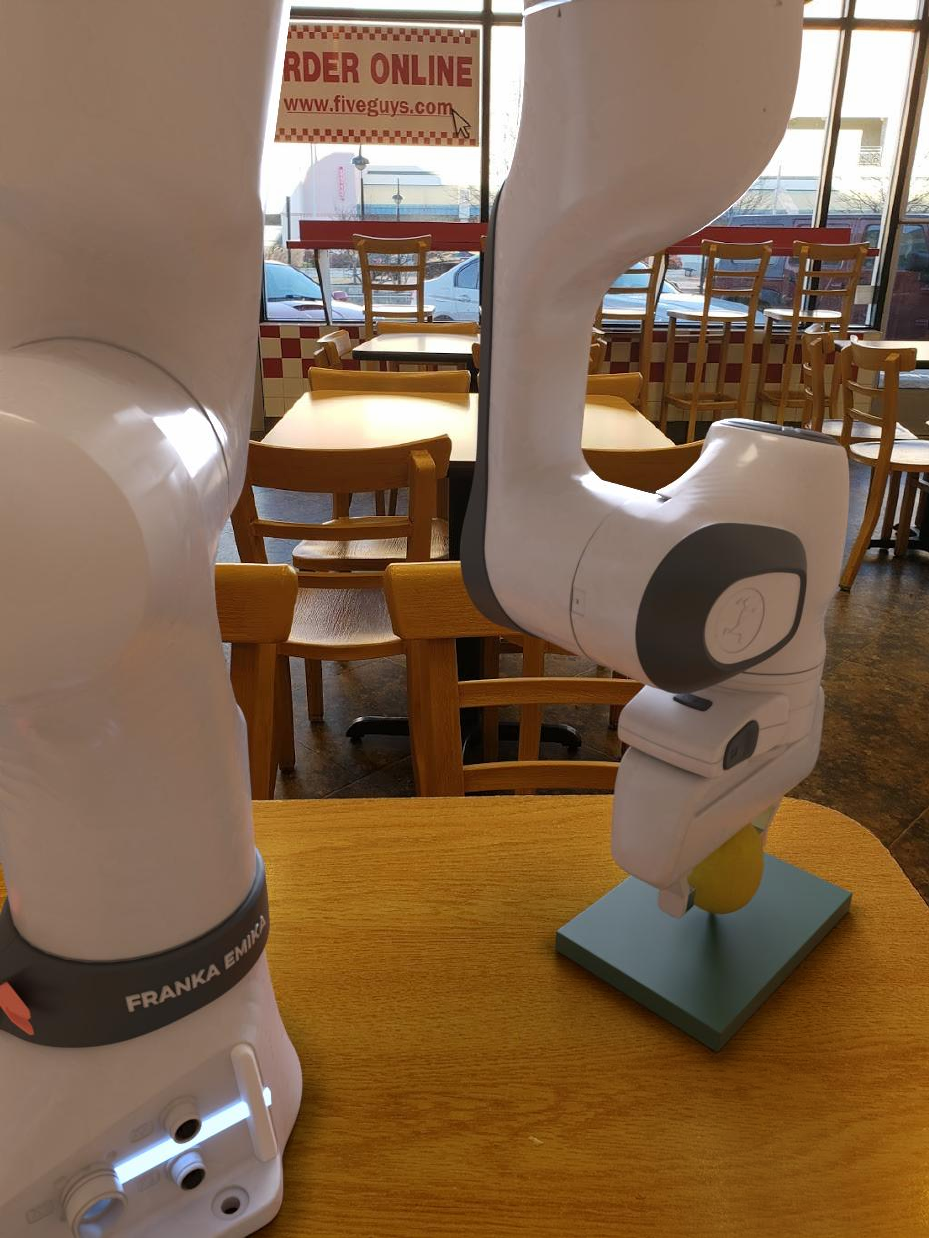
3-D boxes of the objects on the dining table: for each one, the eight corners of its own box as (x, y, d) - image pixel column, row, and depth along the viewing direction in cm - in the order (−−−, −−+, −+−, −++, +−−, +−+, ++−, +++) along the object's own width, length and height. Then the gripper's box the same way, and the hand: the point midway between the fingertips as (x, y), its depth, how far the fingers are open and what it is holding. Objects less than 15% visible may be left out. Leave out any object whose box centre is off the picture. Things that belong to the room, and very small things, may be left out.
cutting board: (717, 1053, 54) (720, 1033, 53) (554, 949, 61) (555, 931, 61) (849, 910, 66) (853, 892, 65) (699, 838, 74) (701, 822, 73)
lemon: (752, 948, 60) (770, 842, 57) (664, 928, 61) (677, 824, 59) (756, 896, 65) (773, 796, 62) (675, 879, 66) (687, 780, 63)
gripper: (773, 630, 66) (747, 799, 71) (600, 723, 52) (582, 925, 57) (862, 657, 62) (827, 833, 67) (699, 765, 48) (671, 978, 53)
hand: (713, 877), depth 62 cm, fingers open, 8 cm apart
